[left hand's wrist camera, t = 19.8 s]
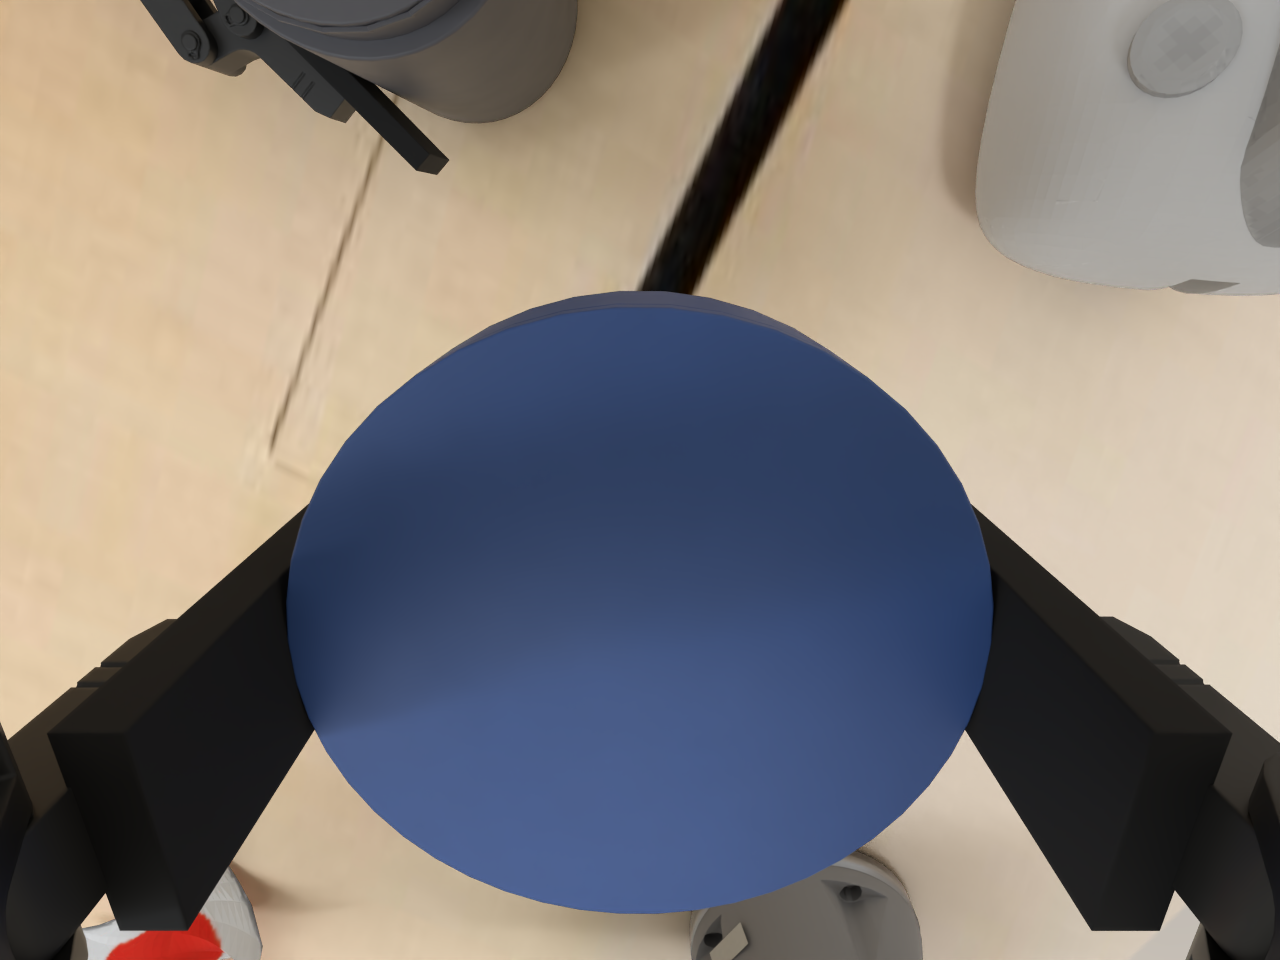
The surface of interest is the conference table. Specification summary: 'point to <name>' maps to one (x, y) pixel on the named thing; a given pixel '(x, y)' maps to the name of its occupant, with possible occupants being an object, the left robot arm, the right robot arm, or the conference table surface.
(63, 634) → the conference table surface
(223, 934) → the fish
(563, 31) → the jar
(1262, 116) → the projector
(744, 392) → the lid
